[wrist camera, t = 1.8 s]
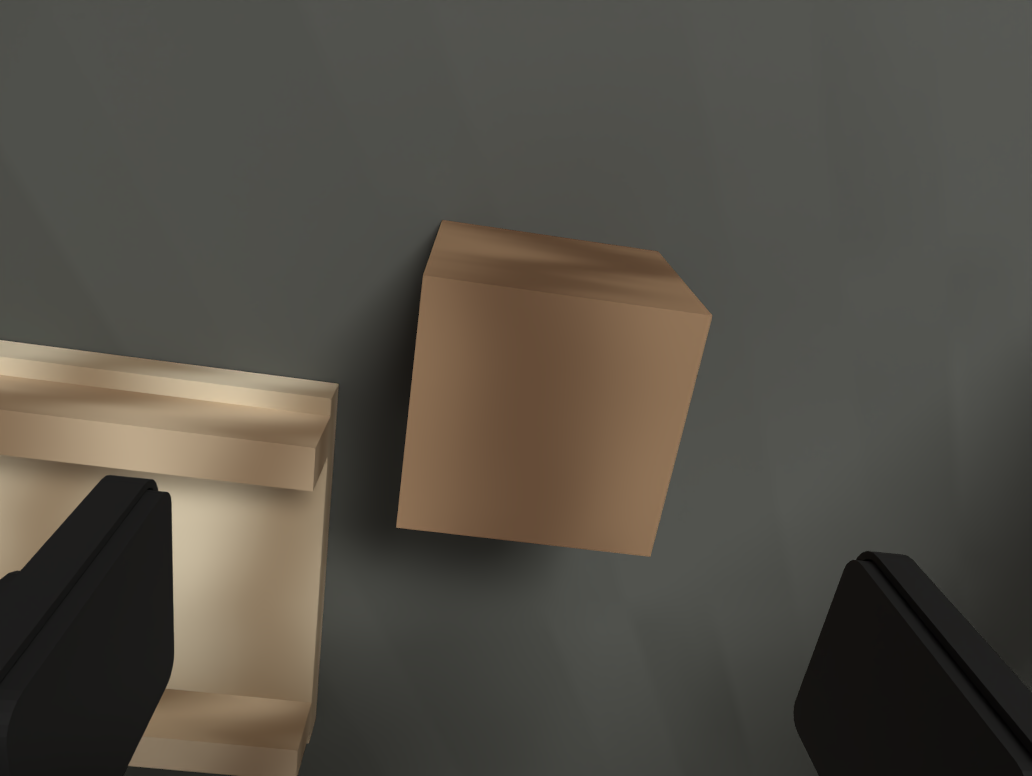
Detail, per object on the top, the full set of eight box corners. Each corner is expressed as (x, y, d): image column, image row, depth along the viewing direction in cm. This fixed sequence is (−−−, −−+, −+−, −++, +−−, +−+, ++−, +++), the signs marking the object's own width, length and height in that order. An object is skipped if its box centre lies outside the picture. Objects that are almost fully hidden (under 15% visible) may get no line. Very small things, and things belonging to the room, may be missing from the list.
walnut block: (657, 250, 20) (712, 315, 15) (615, 441, 22) (650, 556, 17) (442, 219, 19) (423, 275, 14) (420, 417, 21) (396, 527, 16)
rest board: (338, 383, 21) (316, 429, 18) (315, 719, 25) (295, 793, 23) (-215, 312, 20) (-322, 350, 17) (-136, 675, 24) (-210, 749, 22)
